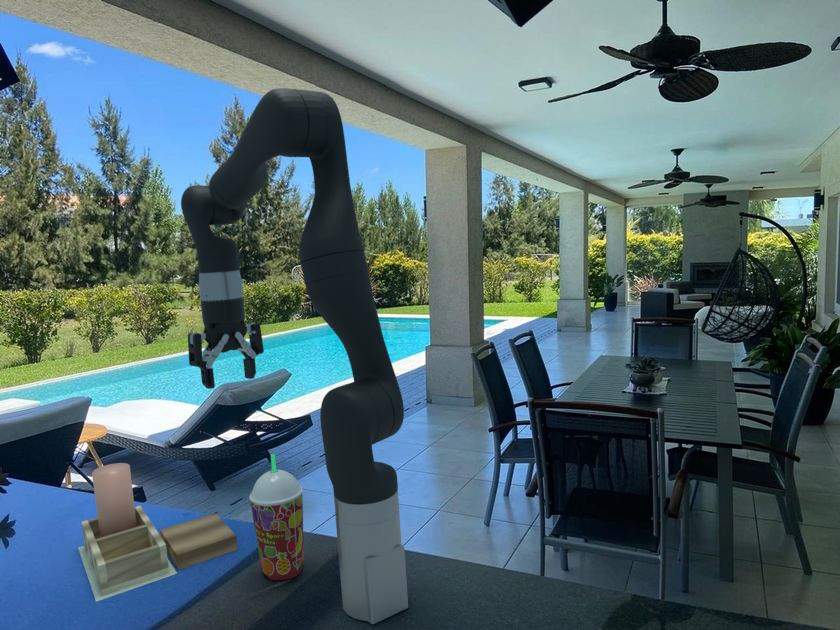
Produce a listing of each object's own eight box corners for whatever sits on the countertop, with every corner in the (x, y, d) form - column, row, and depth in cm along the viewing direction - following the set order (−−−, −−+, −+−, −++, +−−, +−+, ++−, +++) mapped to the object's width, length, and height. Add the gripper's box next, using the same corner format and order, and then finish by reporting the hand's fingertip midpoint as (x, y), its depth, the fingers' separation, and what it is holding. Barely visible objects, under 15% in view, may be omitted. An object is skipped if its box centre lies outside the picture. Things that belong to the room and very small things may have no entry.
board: (237, 551, 108) (236, 535, 108) (178, 572, 103) (176, 555, 102) (216, 527, 118) (215, 512, 118) (161, 545, 112) (160, 529, 112)
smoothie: (246, 580, 99) (234, 460, 96) (280, 555, 106) (270, 443, 104) (287, 591, 95) (275, 467, 92) (319, 564, 102) (309, 449, 100)
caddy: (169, 573, 102) (165, 544, 101) (102, 596, 96) (98, 566, 95) (143, 530, 118) (140, 505, 117) (84, 547, 112) (81, 521, 112)
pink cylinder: (141, 544, 110) (132, 469, 108) (104, 555, 107) (94, 478, 105) (134, 532, 115) (126, 460, 113) (99, 543, 112) (89, 468, 110)
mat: (177, 575, 102) (177, 573, 101) (96, 603, 95) (96, 601, 95) (148, 528, 119) (147, 526, 119) (78, 549, 113) (78, 547, 113)
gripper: (197, 301, 105) (207, 394, 107) (266, 292, 116) (274, 377, 118) (174, 300, 110) (184, 389, 112) (243, 292, 120) (250, 373, 122)
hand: (230, 383), depth 115 cm, fingers open, 8 cm apart
